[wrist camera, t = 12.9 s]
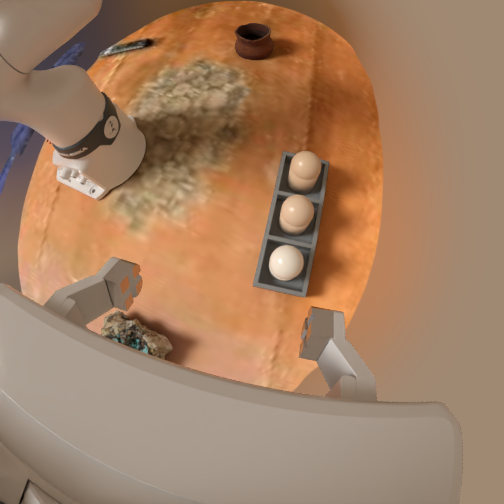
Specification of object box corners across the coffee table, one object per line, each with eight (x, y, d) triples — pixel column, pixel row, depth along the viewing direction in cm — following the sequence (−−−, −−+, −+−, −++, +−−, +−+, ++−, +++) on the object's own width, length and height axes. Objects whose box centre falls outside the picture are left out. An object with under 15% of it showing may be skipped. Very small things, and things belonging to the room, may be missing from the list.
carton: (253, 286, 41) (250, 283, 32) (281, 160, 45) (285, 131, 36) (302, 297, 41) (312, 297, 32) (325, 170, 44) (337, 143, 35)
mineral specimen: (102, 355, 39) (91, 373, 32) (104, 305, 40) (92, 315, 32) (169, 366, 43) (171, 386, 35) (174, 317, 44) (175, 329, 36)
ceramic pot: (244, 85, 48) (241, 62, 41) (202, 51, 51) (197, 30, 44) (309, 58, 49) (312, 36, 42) (262, 27, 52) (262, 7, 45)
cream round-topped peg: (265, 278, 41) (266, 274, 33) (272, 249, 41) (274, 238, 33) (294, 284, 40) (302, 281, 32) (300, 255, 41) (309, 246, 33)
